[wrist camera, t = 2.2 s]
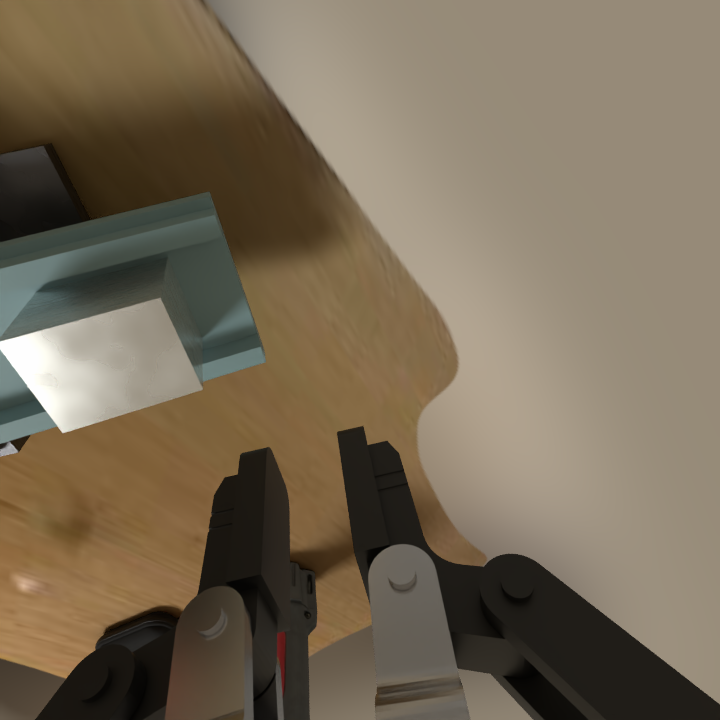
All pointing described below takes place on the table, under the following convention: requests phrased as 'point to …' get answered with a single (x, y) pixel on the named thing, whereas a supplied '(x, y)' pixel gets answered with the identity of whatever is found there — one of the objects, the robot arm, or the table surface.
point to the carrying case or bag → (139, 631)
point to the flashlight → (297, 644)
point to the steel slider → (107, 345)
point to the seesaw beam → (119, 251)
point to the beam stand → (34, 206)
